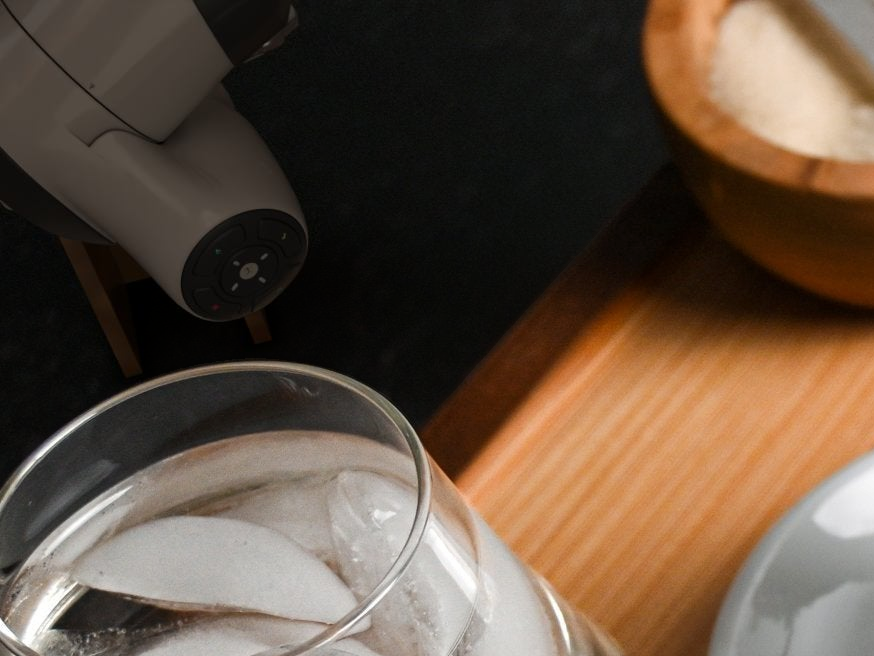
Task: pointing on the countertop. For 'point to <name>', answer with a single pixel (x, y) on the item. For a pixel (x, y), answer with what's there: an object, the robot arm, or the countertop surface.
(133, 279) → the wooden chair
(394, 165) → the countertop surface
